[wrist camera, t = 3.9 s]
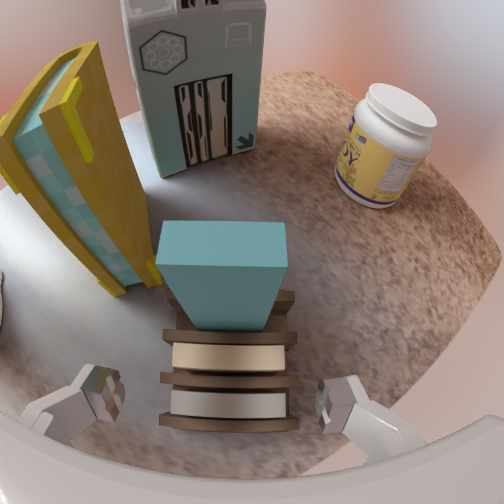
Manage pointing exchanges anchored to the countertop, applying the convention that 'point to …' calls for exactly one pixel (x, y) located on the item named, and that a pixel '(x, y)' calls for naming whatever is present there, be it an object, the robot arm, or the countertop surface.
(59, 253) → the countertop surface
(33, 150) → the book
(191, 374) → the rack
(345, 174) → the supplement tub
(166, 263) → the tall sheet
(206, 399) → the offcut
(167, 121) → the device
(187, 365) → the block
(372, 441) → the robot arm
